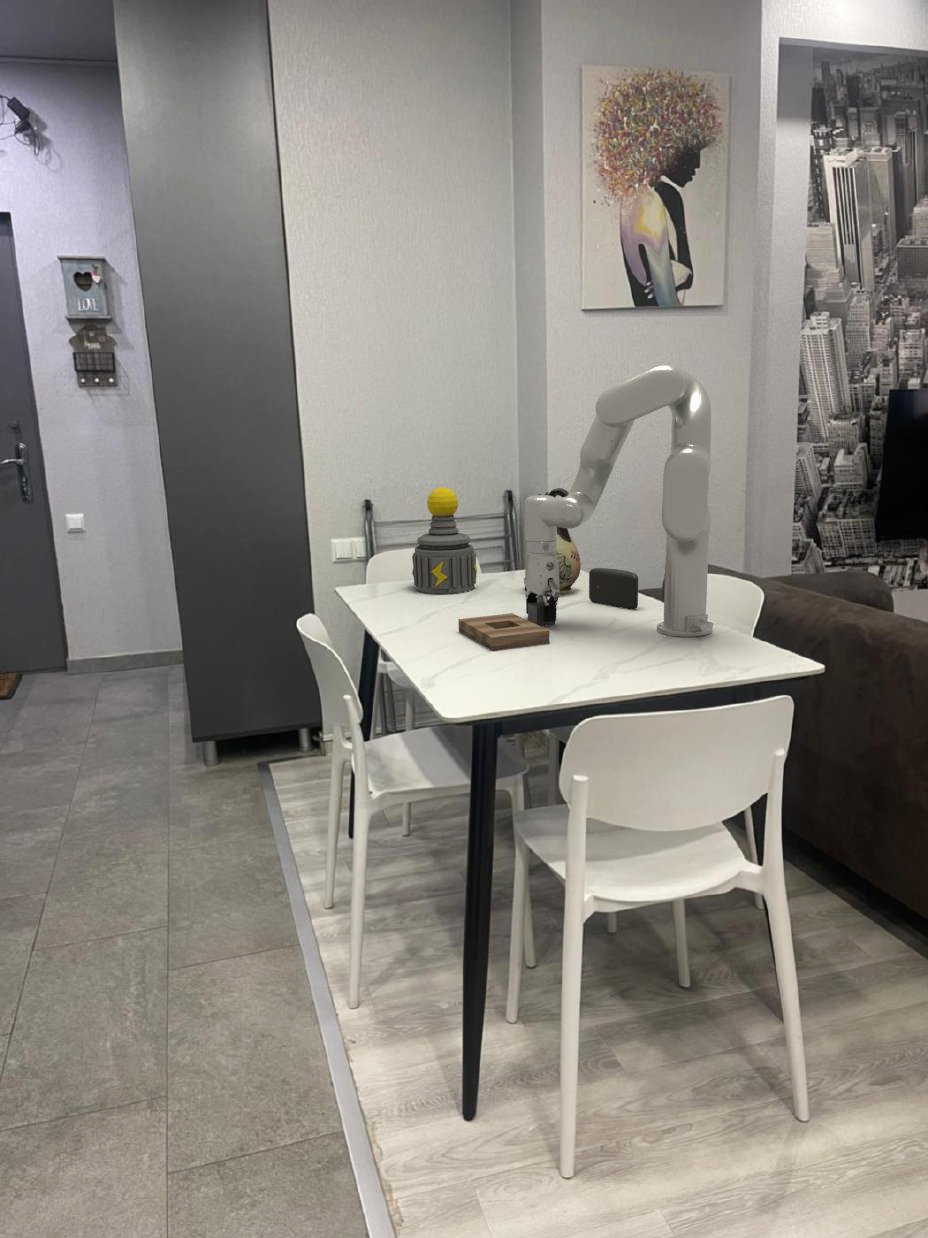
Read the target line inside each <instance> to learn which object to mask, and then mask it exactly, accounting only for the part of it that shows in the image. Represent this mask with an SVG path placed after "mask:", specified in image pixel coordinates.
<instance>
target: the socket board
mask: <svg viewBox="0 0 928 1238" xmlns="http://www.w3.org/2000/svg"><path fill="white" fill-rule="evenodd" d="M458 632H459V633H461V634H462V635H465V636H466V637H467V638H470V639H471V640H473V641H474V642H476V643H478V644H480V645H482V646H483V647H485V648H487V649H488V650H490V651H492V652H493V651H502V650H509V649H516V648H524V647H533V646H541V645H547V644H550V643H551V642H550V639H551V638H550V633H551V632H550V629H548V628H546V627H544V626H542V627H541V626H539V625H537V624H535V623H532V622H530V621H528V619H526V618H524V617H522V616H519V615H517V614H514V612H513V613H512V612H510V613H500V614H493V615H485V616H484V615H483V616H482V615H481V616H475V617H466V618H458Z"/></svg>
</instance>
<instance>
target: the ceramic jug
mask: <svg viewBox="0 0 928 1238" xmlns="http://www.w3.org/2000/svg"><path fill="white" fill-rule="evenodd" d="M568 494H569V491H568V490H567V489H564V488H562V487H557V488H553V489H552V490H550V491H549V492H547V491H546V492H545V494H544V495H548V496H553V497H554V498H557V496H559V497H560V498H562V497H566V496H568ZM537 495H542V493H539V494H537ZM556 555H557V560H558V567H559V586H560V593H559V595H564V594H565V595H566V594H570V593H571V591H572V588H571V587H572V586H573V585H574V584H575V583H576V581H577V580H578V578H579V576H580V574H581V568H582V567H581V557H580V553H579V550H578V547H577V546H576V544H575V542H574V540H573V538H572V536H571V535H570V532H569V529H568V528H561V527H557V554H556ZM546 593H549V592H546ZM583 595H584V594H583Z"/></svg>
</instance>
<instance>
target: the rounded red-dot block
mask: <svg viewBox="0 0 928 1238" xmlns="http://www.w3.org/2000/svg"><path fill="white" fill-rule="evenodd" d="M588 574H589V575H588V598H589V600H590V601H591V602H592V603H594V604H598V605H604V604H605V605H604V606H609V605H611V606H610V607H615V606H616V607H615V608H620V607H622V608H621V609H625V608H627V609H626V610H631V609H634V610H636V609H638V607H639V576H638V574H636V573H635V572H632V571H629V570H623V569H617V568H604V567H595V568H592V569H590V570H589V572H588Z"/></svg>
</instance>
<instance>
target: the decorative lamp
mask: <svg viewBox="0 0 928 1238" xmlns="http://www.w3.org/2000/svg"><path fill="white" fill-rule="evenodd" d="M426 501H427V509H428V512H429V513H430V514H431V515H432V516H431V522H430V524H429V527H430V528H429V529H428V533H424V534H422V535H420V536H418V537H417V544H418V545H417V546H415V547H414V552H413V554H412V556H411V560H412V571H411V574H412V576H413V584H414V586H415V589H416V590H417V591H418V592H419V591H420V593H422V592H423V594H427V593H429V594H430V595H452V594H453V593H456V594H461V593H460V592H463V593H466V592H465V591H467V592H470V591H469V590H471V589H472V590H473V589H474V588H475V585H476V584H477V574H478V568H477V554H476V551H474V545H472V544H469V543H470V542H471V538H470V536H469V535H467V534H466V533H464V532H459V528H458V527H457V521H455V520H456V517H455V513H456V512H457V510H458V507H459V499H458V496H457V495H456V493H455V492H454V491H453V490H451V488H448V487H442V486H441V487H437V488H435V489H434V490H432V491H431V493H429V495H428V498H427V499H426ZM472 590H471V591H472ZM453 595H454V594H453Z"/></svg>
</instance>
